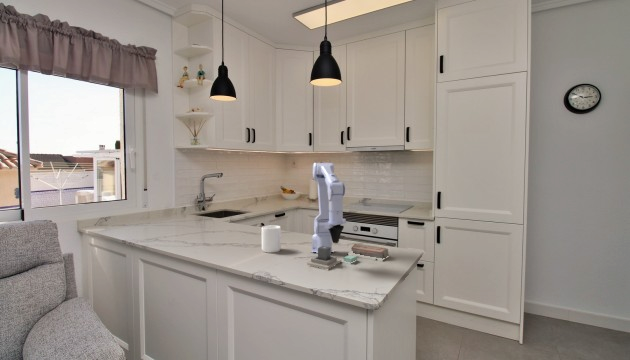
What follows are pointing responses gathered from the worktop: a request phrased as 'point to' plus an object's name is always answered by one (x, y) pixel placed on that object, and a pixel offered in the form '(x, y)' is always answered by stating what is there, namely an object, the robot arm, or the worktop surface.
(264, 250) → the mug
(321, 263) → the plate
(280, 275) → the worktop surface
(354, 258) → the cable plug
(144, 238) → the worktop surface
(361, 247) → the packaged product
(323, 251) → the block
